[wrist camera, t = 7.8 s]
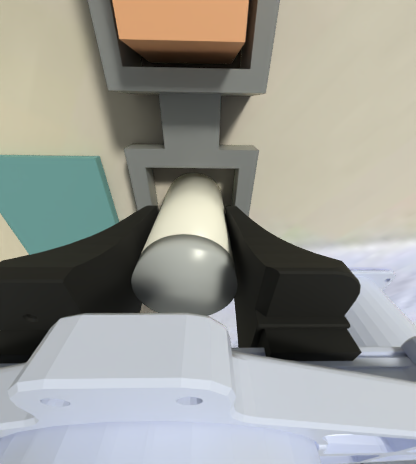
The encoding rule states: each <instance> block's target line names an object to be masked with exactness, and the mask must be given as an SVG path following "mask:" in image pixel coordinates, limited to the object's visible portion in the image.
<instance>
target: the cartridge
mask: <svg viewBox="0 0 416 464" xmlns="http://www.w3.org/2000/svg"><path fill="white" fill-rule="evenodd" d="M131 283H132V289H133V291H134V293H135V295H136V296H137V298H138V299H139V300H140V301H141V302H142V303H143V304H144V305H145V306H147V307H148V308H150V309H152V310H153V311H156V312H158V313H191V314H198V315H205V316H208V315H211V314H214V313H216V312H218V311H220V310H222V309H223V308H225V307H226V306H227V305H228V304H229V303H230V302H231V301H232V300H233V298H234V297H235V295H236V292H237V286H238V284H237V277H236V272H235V266H234V261H233V255H232V249H231V244H230V238H229V233H228V227H227V222H226V216H225V211H224V205H223V200H222V194H221V191H220V188H219V187H218V185H217V184H216V182H215V181H214V180H212V179H211V178H210V177H208V176H206V175H203V174H200V173H188V174H184V175H182V176H180V177H178V178H177V179H176V180H175V181H174V182H173V183H172V184H171V186H170V188H169V190H168V192H167V195H166V197H165V199H164V202H163V204H162V206H161V209H160V211H159V213H158V216H157V218H156V220H155V223H154V225H153V227H152V230H151V232H150V234H149V237H148V239H147V241H146V244H145V246H144V248H143V251H142V253H141V255H140V258H139V260H138V262H137V265H136V267H135V269H134V272H133V274H132V279H131Z"/></svg>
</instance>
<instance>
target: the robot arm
mask: <svg viewBox="0 0 416 464" xmlns="http://www.w3.org/2000/svg"><path fill="white" fill-rule="evenodd" d="M158 213H159V212H158V206H151V205H147V206H145V207H143V208H141V209H140V210H138V211H137V212H135V213H133V214H132V215H130V216H129V217H127V218H125V219H124V220H122V221H120V222H118V223H117V224H115V225H113V226H111V227H109V228H107V229H105V230H103V231H101V232H99V233H97V234H94V235H92V236H90V237H87V238H84V239H81V240H79V241H76V242H73V243H71V244H67V245H64V246H61V247H58V248H54V249H51V250H47V251H43V252H39V253H35V254H31V255H26V256H22V257H18V258H13V259H8V260H3V261H1V262H0V464H416V326H415V325H414V324H413V323H412V322H411V321H410V319H409V318H408V317H407V316H406V315H405V314H404V313H403V312H402V311H401V310H400V309H399V308H398V307H397V306H396V305H395V304H394V303H393V302H392V301H391V299H390V298H389V297H388V296H387V295H386V294H385V293H384V292H383V291H384V289H385V288H386V287H387V286H388V285H389V283H390V282H391V281H392V280H393V279H394V278H395V276H396V274H395V273H394V272H393V271H389V270H349V268H348V267H347V266H346V265H345V264H344V263H343V262H342V261H340V260H336V259H333V258H329V257H326V256H322V255H319V254H316V253H313V252H310V251H308V250H305V249H302V248H300V247H297V246H295V245H293V244H290V243H288V242H286V241H284V240H282V239H280V238H278V237H276V236H275V235H273V234H271V233H270V232H268V231H266V230H265V229H263V228H262V227H261V226H259V225H258V224H257V223H255V222H254V221H253V220H252V219H250V218H249V217H248V216H247V215H246V214H245V213H244V212H242V211H241V210H240V209H239V208H238V207H237V206H226V214H225V216H226V222H227V227H228V233H229V238H230V244H231V249H232V255H233V261H234V266H235V272H236V277H237V284H238V286H237V292H236V295H235V297H234V301H235V311H236V322H237V334H238V347H239V348H231V341H230V336H229V334H228V331H227V328H226V327H225V326H224V325H223V324H221V323H219V322H217V321H216V320H214V319H212V318H211V317H209V316H205V315H198V314H191V313H140V310H141V305H142V302H141V301H140V300H139V299H138V298H137V296H136V295H135V293H134V291H133V289H132V283H131V279H132V274H133V272H134V269H135V267H136V265H137V262H138V260H139V258H140V255H141V253H142V251H143V248H144V246H145V244H146V241H147V239H148V237H149V234H150V232H151V230H152V227H153V225H154V223H155V220H156V218H157V216H158Z"/></svg>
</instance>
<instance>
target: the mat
mask: <svg viewBox="0 0 416 464" xmlns="http://www.w3.org/2000/svg"><path fill="white" fill-rule="evenodd" d="M0 213H1V215H2V216H3V218H4V219H5V220H6V222H7V223H8V225H9V226H10V228H11V229H12V230H13V232H14V233H15V235H16V236H17V238H18V239H19V240H20V242H21V243H22V245H23V246H24V248H25V249H26V251H27V252H28V253H29V255H31V254H35V253H39V252H43V251H47V250H51V249H54V248H58V247H61V246H64V245H67V244H71V243H73V242H76V241H79V240H81V239H84V238H87V237H90V236H92V235H94V234H97V233H99V232H101V231H103V230H105V229H107V228H109V227H111V226H113V225H115V224H117V223H118V222H119V220H118V216H117V213H116V210H115V206H114V203H113V200H112V196H111V193H110V190H109V186H108V183H107V179H106V176H105V173H104V169H103V166H102V163H101V159H100V156H36V155H0Z"/></svg>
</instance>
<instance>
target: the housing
mask: <svg viewBox="0 0 416 464" xmlns="http://www.w3.org/2000/svg"><path fill="white" fill-rule="evenodd" d="M279 3H280V0H249V5H248V16H247V27H246V38H245V43H244V45H243V46H242V48H241V60H240V69H215V68H168V67H142V63H141V56H140V54H138V53H137V52H136V51H134V50H133V49H132V48H130V47H129V46H128V45H126V44H125V43H124V42H122V41H121V40H120V39H119V35H118V29H117V24H116V18H115V12H114V7H113V1H112V0H88V4H89V9H90V13H91V17H92V22H93V26H94V31H95V35H96V39H97V44H98V48H99V52H100V57H101V61H102V65H103V70H104V74H105V78H106V83H107V87H108V90H109V91H116V92H123V93H130V94H159V101H160V110H161V119H162V129H163V138H164V144H132V145H130V146H128V147H126V148H124V152H125V156H126V161H127V165H128V170H129V174H130V179H131V183H132V188H133V192H134V197H135V201H136V206H137V210H140V209H141V208H143V207H145V206H147V205H151V206H158V202H157V195H156V188H155V182H154V175H153V169H152V168H235V175H234V186H233V196H232V206H237V207H238V208H239V209H240V210H241V211H242V212H244V213H245V214H246V215H247V216H248V217H249V210H250V204H251V198H252V191H253V185H254V179H255V172H256V166H257V160H258V153H259V150H258V149H257V148H255V147H254V146H245V145H219V134H220V111H221V95H222V96H254V95H260V94H265V93H266V88H267V82H268V75H269V69H270V62H271V56H272V49H273V43H274V36H275V29H276V23H277V16H278V10H279ZM158 212H159V208H158Z"/></svg>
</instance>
